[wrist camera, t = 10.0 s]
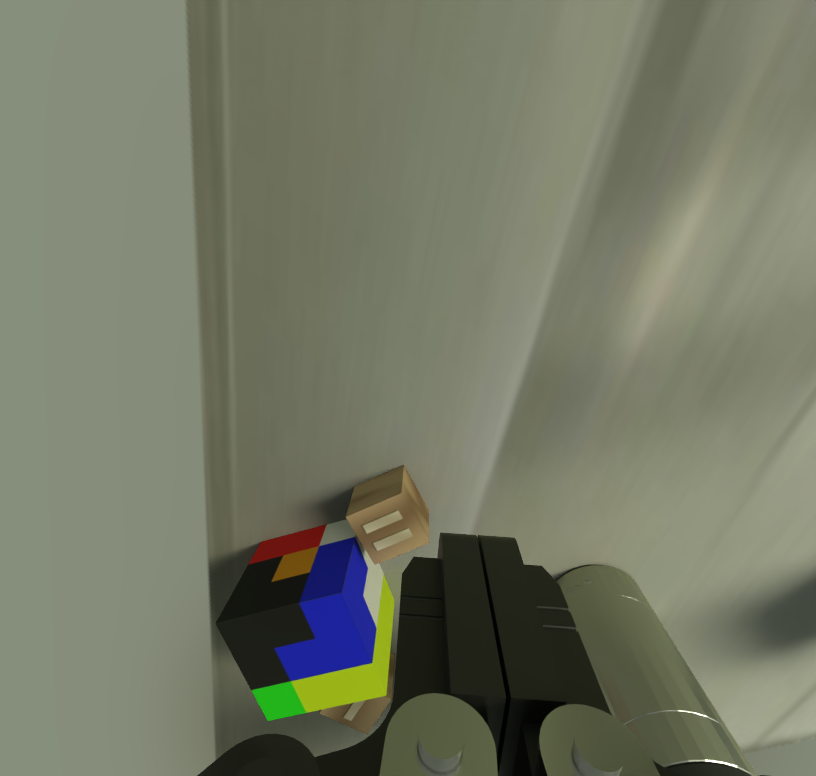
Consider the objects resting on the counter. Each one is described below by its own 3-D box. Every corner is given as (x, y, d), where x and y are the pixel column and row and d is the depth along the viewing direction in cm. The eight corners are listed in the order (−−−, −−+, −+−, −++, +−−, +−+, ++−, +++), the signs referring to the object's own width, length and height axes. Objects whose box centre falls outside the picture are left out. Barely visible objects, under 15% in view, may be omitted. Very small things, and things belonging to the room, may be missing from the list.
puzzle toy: (360, 515, 43) (341, 592, 33) (394, 601, 45) (386, 695, 36) (261, 541, 44) (215, 623, 34) (300, 623, 46) (267, 720, 37)
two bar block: (428, 509, 42) (429, 543, 37) (380, 529, 43) (374, 566, 38) (404, 464, 41) (401, 494, 36) (354, 486, 42) (345, 518, 37)
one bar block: (394, 653, 47) (391, 701, 42) (372, 686, 49) (366, 735, 44) (351, 633, 47) (342, 679, 42) (329, 667, 48) (319, 715, 43)
